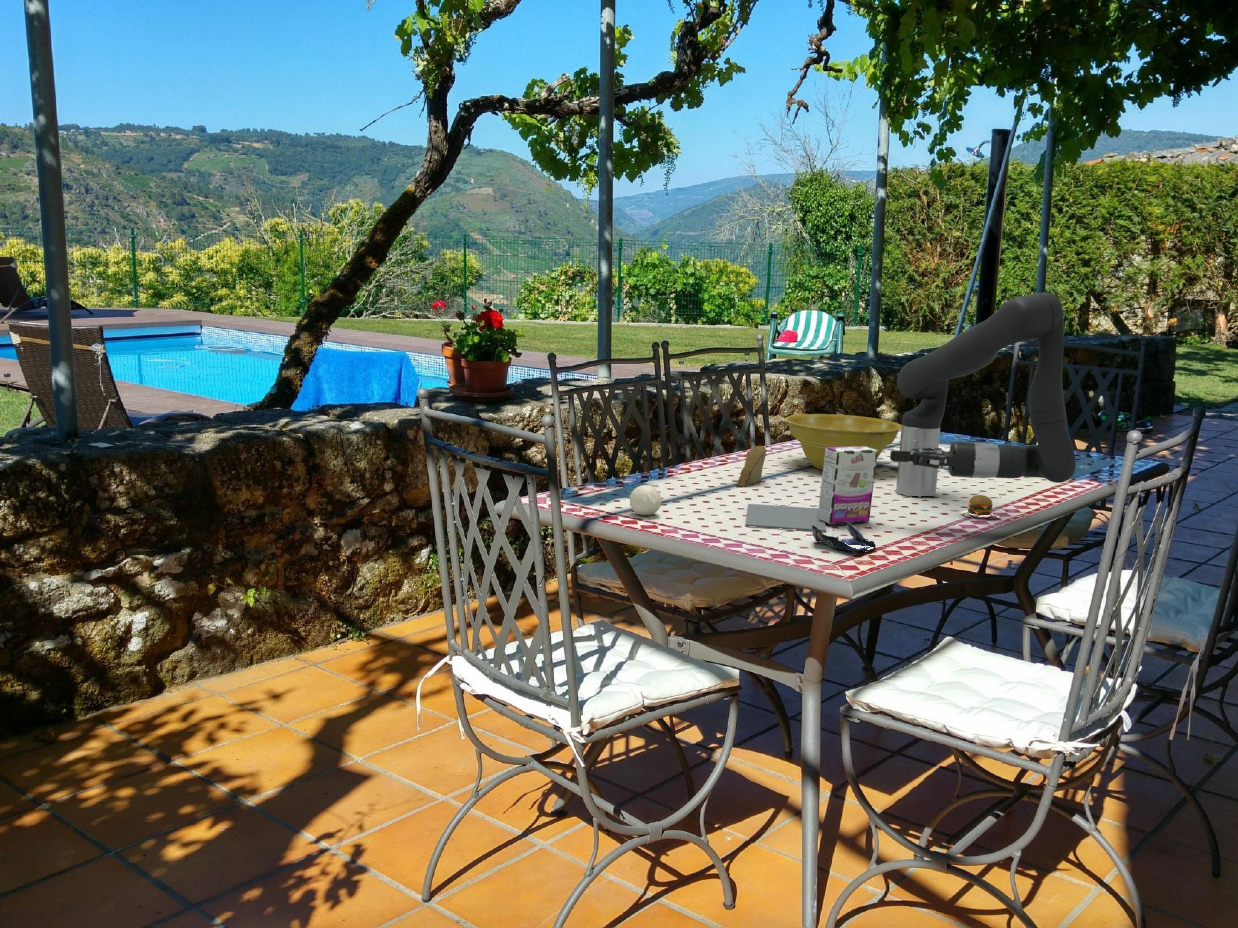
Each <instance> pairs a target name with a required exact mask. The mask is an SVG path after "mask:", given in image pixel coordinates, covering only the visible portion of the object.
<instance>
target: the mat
mask: <svg viewBox="0 0 1238 928" xmlns="http://www.w3.org/2000/svg"><path fill="white" fill-rule="evenodd" d="M818 510H819V507H817V508H815V507H803V506H802V507H801V506H788V505H773V504H761V503H760V504H758V503H757V504H756V503H747V510H746V517H745V518H746V519H745V526H756V527H755V528H757V527H763V528H762V529H771V528H782V529H781V530H785V529H796V530H795V531H799V530H804V531H803V532H812V531H813V530H812V526H815V527H817V529H818V530H819V531H824V532H823V533H827V526H826V523H825V522H822V521H820V520H818ZM745 526H744V527H745Z"/></svg>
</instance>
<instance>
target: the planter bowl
mask: <svg viewBox="0 0 1238 928" xmlns="http://www.w3.org/2000/svg"><path fill="white" fill-rule="evenodd" d="M783 421H785V422H786V423H787V424H788V427H789V430H790V433H791V436H792V437H793V438H795V439H796V440H797V441H798V442H799V443H800V446H801V448H802V451H803V453H804V455H805V458H806V459H807V461H808V463H810V464H811V465H812V466H813V467H814V468H816V469H818V470H821V471H823V464H824V455H825V448H826V447H862V446H864V447H868V448H872V449H875V450H878V452H877V459H879V457H880V455H881V454H882V451H883V449H886V448H887V447H888V446H890V445H892V444H893V443H894V442H895V439H896V438H897V436H898V434H899V431H901V429H902V424H899V423H897V422H894V421H891V420H886V419H882V418H881V419H880V418H877V417H867V416H858V415H847V414H831V413H830V414H827V413H811V414H809V413H808V414H807V413H805V414H803V413H802V414H792V415H789V416H786V417H785V418H784V420H783Z"/></svg>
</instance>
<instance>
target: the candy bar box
mask: <svg viewBox="0 0 1238 928" xmlns="http://www.w3.org/2000/svg"><path fill="white" fill-rule="evenodd" d="M877 452H878V450H875V449H872V448H868V447H864V446H862V447H826V448H825V455H824V464H823V470H822V476H821V484H820V491H819V492H820V494H819V502H818V508H819V510H818V520H820V521H822V522H825V524H828V525H831V526H832V525H833V526H834V525H847V524H846V523H845V521H846V520H847V522H849V523H851V524H861V523H869V522H870V517H871V509H872V500H873V491H874V484H875V474H876V467H877V460H878V458H877ZM842 521H843V522H842ZM834 523H835V524H834Z"/></svg>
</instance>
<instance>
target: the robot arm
mask: <svg viewBox="0 0 1238 928" xmlns="http://www.w3.org/2000/svg"><path fill="white" fill-rule="evenodd" d="M1064 336H1065V316H1064V309H1063V306H1062V303H1061V301H1060V299H1059V298H1058V297H1057V296H1056V295H1055V294H1053V293H1051V292H1047V291H1046V292H1045V291H1044V292H1038V293H1033V294H1028V295H1024V296H1022V295H1021V296H1017V297H1015V298H1012V299H1011V300H1009V301H1008V302H1006V303H1004V305H1002V306H1001V307H1000V308H999V309H997V310H996V311H995V312H994V313H993V314H991V316H989V317H988V318H986V319H985V320H984V321H981V322H979V323H976V324H975V325H974V326H972V327H969V328H968V329H966V330H965V331H963V332H962V333H960V334H958V335H956V336H955V337H953V338H952V339H951V340H949V341H947V342H946V343H943V344H942V345H941V346H939V347H937V348H936V349H934V350H933V351H931V352H929V353H928V354H925V355H924V356H921V357H918V358H915V359H914V360H910V361H909V362H907V363H905V365H903V366H902V368H901V369H900V371H899V373H898V375H897V379H896V380H897V381H896V385H897V389H898V390H899V393H900V394H901V395H903V396H904V397H905V398H908V399H912V400H921V401H920V404H919V405H917V406H916V407H914V408H913V409H911V410H908V411H906V412H905V413H904V414H903V415H902V421H901V425H902V429H901V430H900V443H899V450H894V449H892V450H891V451H890V453H889V454H890V455H889V459H890V461H891V462H896V463H897V462H898V465H897V476H896V485H895V486H896V487H895V489H896V491H895V492H896V493H897V494H899V495H901V494H903V495H902V496H907V497H912V496H918V497H917V498H922V497H921V496H935V497H936V496H937V495H936V494H937V483H938V473H939V470H941V469H942V470H943V467H948V473H949V475H950V476H951V477H955V478H956V477H957V478H958V477H959V478H975V479H976V478H978V479H991V478H996V479H997V478H998V479H1019V478H1022V477H1027V478H1042V479H1046V480H1047V481H1049V482H1051V483H1055V484H1061V483H1065V482H1067V481H1069V480H1070V479H1071V478H1072V477H1073V476H1074V474H1075V471H1076V470H1077V469H1076V467H1077V461H1076V460H1077V459H1076V458H1077V457H1076V454H1075V450H1074V446H1073V441H1072V439H1071V436H1070V433H1069V429H1068V419H1067V413H1066V412H1067V411H1066V404H1065V403H1066V402H1065V397H1064V388H1063V385H1064V384H1063V369H1064V367H1063V366H1064V365H1063V364H1064V339H1065V338H1064ZM1030 340H1037V344H1038V345H1037V346H1038V358H1037V364H1036V368H1035V371H1034V375H1033V378H1032V381H1031V384H1030V387H1029V391H1028V399H1027V400H1028V401H1027V402H1028V403H1027V404H1028V405H1027V406H1028V412H1029V414H1028V415H1029V419H1030V426H1031V431H1032V434H1033V435H1034V437H1035V439H1036V441H1037V445H1031V446H1029V445H1027V446H1018V445H1007V444H993V443H987V442H972V441H952V443H951V444H950V447H949V450H947V451H946V450H944V449H942V448H941V447H939V444H940V434H941V425H942V420H943V418H944V416H945V415H944V414H945V410H946V403H947V397H948V391H949V390H948V389H949V381H950V380H952V379H953V380H954V379H957V378H963V377H966V376H969V375H971V374H972V375H973V374H974V373H976V372H978V371H980V370H981V369H983V368H986V367H988V365H990V364H991V363H993V362H994V361H995V359H997V356H998V355H999V352H1000V350H1003V349H1005V348H1006V347H1008V346H1012V345H1014V344H1017V343H1022V342H1027V341H1030Z"/></svg>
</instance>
